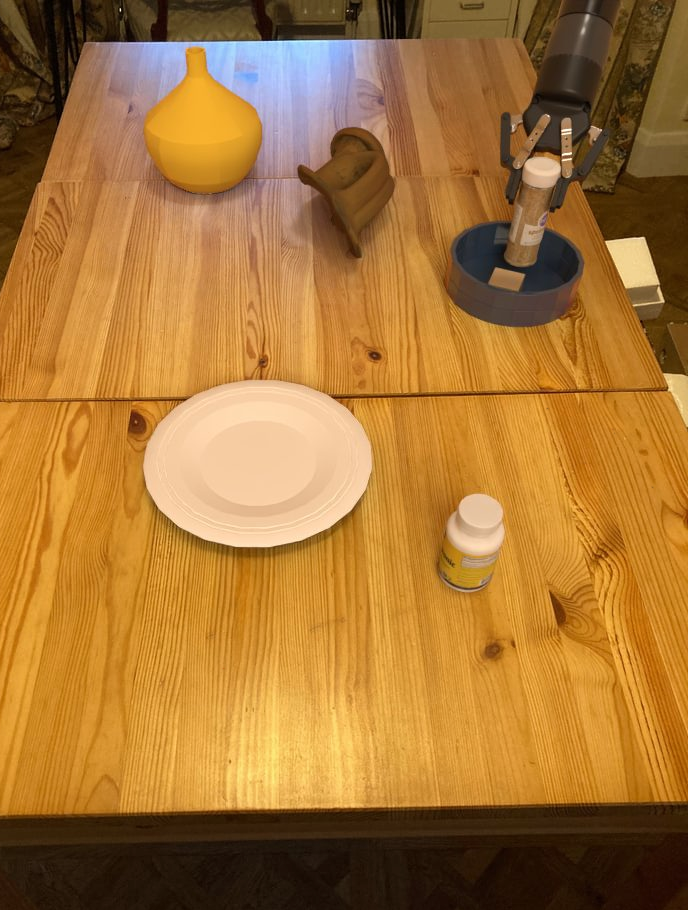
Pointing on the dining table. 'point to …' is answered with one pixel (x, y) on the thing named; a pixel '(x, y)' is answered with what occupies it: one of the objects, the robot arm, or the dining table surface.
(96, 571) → the dining table surface
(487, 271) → the bowl
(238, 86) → the dining table surface
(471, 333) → the dining table surface
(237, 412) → the plate
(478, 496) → the supplement bottle
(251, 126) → the vase
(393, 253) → the dining table surface
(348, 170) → the brown looped sculpture
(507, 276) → the block
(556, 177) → the sprinkles bottle
